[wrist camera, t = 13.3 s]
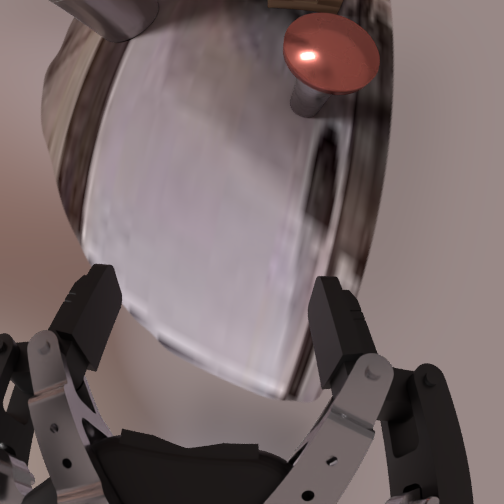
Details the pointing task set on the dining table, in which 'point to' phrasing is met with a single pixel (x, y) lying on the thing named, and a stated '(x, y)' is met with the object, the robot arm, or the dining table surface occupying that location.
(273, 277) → the dining table surface
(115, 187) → the dining table surface
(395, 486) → the robot arm
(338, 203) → the dining table surface
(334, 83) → the copper-capped metal peg
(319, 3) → the brown striped block
